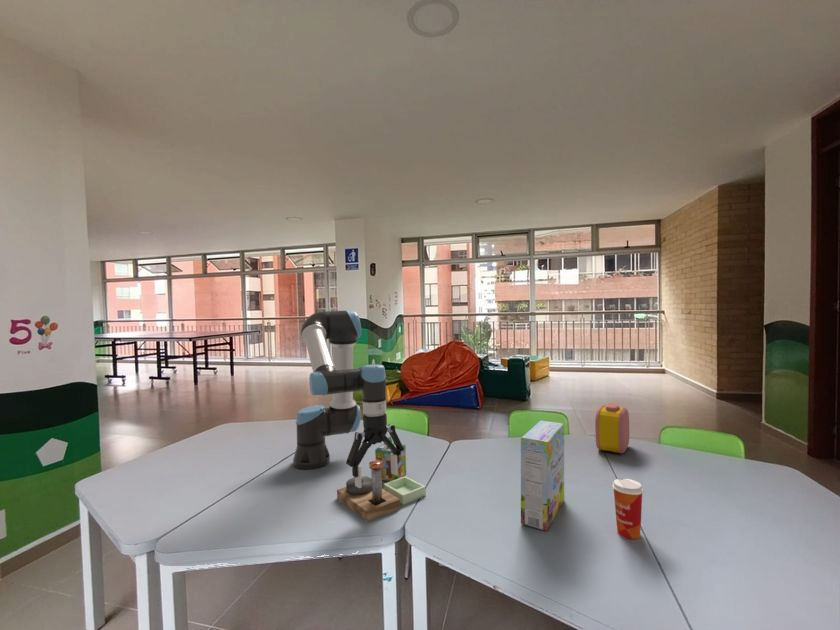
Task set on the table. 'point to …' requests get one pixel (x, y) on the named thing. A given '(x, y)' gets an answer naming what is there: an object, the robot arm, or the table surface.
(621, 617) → the table surface
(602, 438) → the pink and yellow case
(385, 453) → the chalk box
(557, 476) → the snack box
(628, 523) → the paper cup
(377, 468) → the lock pin
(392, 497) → the block
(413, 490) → the tray
